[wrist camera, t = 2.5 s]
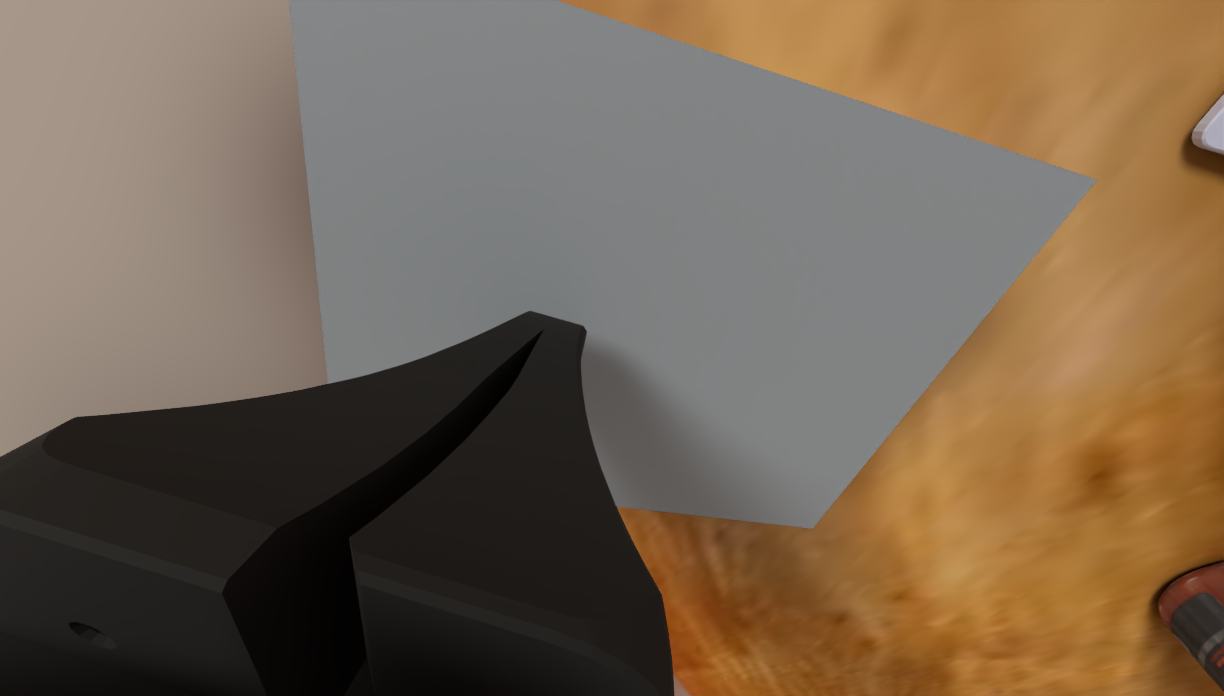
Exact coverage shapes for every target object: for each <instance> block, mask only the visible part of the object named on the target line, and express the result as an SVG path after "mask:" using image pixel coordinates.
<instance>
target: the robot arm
mask: <svg viewBox="0 0 1224 696" xmlns="http://www.w3.org/2000/svg"><path fill="white" fill-rule="evenodd" d="M1191 139H1192V142H1193V144H1194V145H1196V146H1197V147H1199V148H1203V149H1206V150H1209V151H1212V152H1215V153H1219V154H1222V155H1224V94H1223V95H1222V97H1221V98H1220V99H1219V100H1218V101H1217V102H1216V103H1215V105H1214V106H1213V107H1212V108H1211V109H1210V110H1209V111H1208V113H1207V114H1206V115H1205V116H1204V117H1203V118H1202V119H1201V121H1200V122H1199V123H1198V124H1197V126H1196V127H1195V129H1194V130H1193V133H1192V138H1191ZM586 335H587V331H586V329H585V327H584V326H583V325H579V324H576V323H572V322H569V321H565V320H562V319H558V318H555V317H551V316H547V315H544V314H540V313H537V312H533V311H528V312H525V313H523V314H521V315H519V316H517V317H515V318H513V319H511V320H509V321H507V322H505V323H502V324H500V325H498V326H496V327H494V328H492V329H490V330H488V331H485V332H483V333H481V334H479V335H477V336H475V337H472V338H470V339H468V340H466V341H463V342H461V343H458V344H456V345H453V346H451V347H448V348H446V349H443V350H441V351H438V352H436V353H433V354H431V355H428V356H426V357H423V358H420V359H417V360H414V361H411V362H408V363H405V364H402V365H399V366H396V367H392V368H389V369H386V370H382V371H379V372H375V373H372V374H368V375H365V376H361V377H357V378H352V379H348V380H343V381H339V382H334V383H330V384H325V385H321V386H316V387H312V388H307V389H303V390H298V391H293V392H287V393H281V394H275V395H270V396H264V397H258V398H251V399H244V400H237V401H231V402H223V403H216V404H208V405H200V406H192V407H182V408H172V409H162V410H152V411H141V412H130V413H120V414H110V415H98V416H85V417H76V418H73V419H71V420H69V421H67V422H65V423H63V424H61V425H60V426H58V427H56V428H54V429H52V430H50V431H48V432H46V433H44V434H43V435H41V436H39V437H37V438H35V439H33V440H31V441H30V442H28V443H26V444H24V445H22V446H20V447H18V448H16V449H15V450H12V451H11V452H9V453H7V454H5V455H3V456H1V457H0V696H674V680H673V667H672V656H671V648H670V641H669V633H668V627H667V622H666V616H665V610H664V604H663V599H662V594H661V592H660V591H659V589H658V587H657V585H656V583H655V582H654V580H653V578H652V576H651V575H650V573H649V571H648V569H647V568H646V566H645V564H644V562H643V560H642V558H641V556H640V554H639V553H638V551H637V549H636V547H635V545H634V543H633V541H632V539H631V537H630V535H629V533H628V531H627V529H626V526H625V524H624V522H623V520H622V518H621V516H620V514H619V512H618V509H617V507H616V505H615V502H614V499H613V497H612V494H611V492H610V489H609V487H608V484H607V482H606V479H605V477H604V474H603V472H602V469H601V466H600V463H599V460H598V457H597V454H596V450H595V447H594V444H593V440H592V436H591V432H590V428H589V424H588V419H587V414H586V409H585V403H584V396H583V388H582V374H581V357H582V353H583V348H584V344H585V339H586Z"/></svg>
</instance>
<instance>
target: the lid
mask: <svg viewBox="0 0 1224 696" xmlns="http://www.w3.org/2000/svg"><path fill="white" fill-rule="evenodd" d="M289 6H290V16H291V26H292V36H293V45H294V55H295V65H296V75H297V84H298V94H299V104H300V113H301V123H302V133H303V143H304V153H305V162H306V172H307V182H308V191H309V201H310V211H311V221H312V230H313V239H314V250H315V260H316V269H317V279H318V289H319V298H320V309H321V318H322V328H323V338H324V348H325V356H326V367H327V377H328V384H330V383H334V382H339V381H343V380H348V379H352V378H357V377H361V376H365V375H368V374H372V373H375V372H379V371H382V370H386V369H389V368H392V367H396V366H399V365H402V364H405V363H408V362H411V361H414V360H417V359H420V358H423V357H426V356H428V355H431V354H433V353H436V352H438V351H441V350H443V349H446V348H448V347H451V346H453V345H456V344H458V343H461V342H463V341H466V340H468V339H470V338H472V337H475V336H477V335H479V334H481V333H483V332H485V331H488V330H490V329H492V328H494V327H496V326H498V325H500V324H502V323H505V322H507V321H509V320H511V319H513V318H515V317H517V316H519V315H521V314H523V313H525V312H528V311H533V312H537V313H540V314H544V315H547V316H551V317H555V318H558V319H562V320H565V321H569V322H572V323H576V324H579V325H583V326H584V327H585V329H586V331H587V335H586V339H585V344H584V348H583V353H582V357H581V374H582V388H583V396H584V403H585V409H586V414H587V419H588V424H589V428H590V432H591V436H592V440H593V444H594V447H595V450H596V454H597V457H598V460H599V463H600V466H601V469H602V472H603V474H604V477H605V479H606V482H607V484H608V487H609V489H610V492H611V494H612V497H613V499H614V502H615V505H616V507H625V508H634V509H642V510H651V511H660V512H669V513H678V514H687V515H695V516H704V517H713V518H722V519H731V520H740V521H749V522H757V523H766V524H775V525H784V526H793V527H802V528H810V529H813V528H814V526H815V525H816V524H817V523H818V521H819V520H820V519H821V518H822V517H823V515H824V514H825V513H826V512H827V510H828V509H829V508H830V507H831V506H832V504H833V503H834V502H835V501H836V499H837V498H838V497H839V496H840V495H841V493H842V492H843V491H844V490H845V488H846V487H847V486H848V485H849V483H850V482H851V481H852V480H853V479H854V477H855V476H856V475H857V474H858V472H859V471H860V470H861V469H862V468H863V466H864V465H865V464H866V463H867V461H868V460H869V459H870V458H871V457H872V455H873V454H874V453H875V452H876V450H877V449H878V448H879V447H880V445H881V444H882V443H883V442H884V441H885V439H886V438H887V437H888V436H889V434H890V433H891V432H892V431H893V430H894V428H895V427H896V426H897V425H898V423H899V422H900V421H901V420H902V419H903V417H904V416H905V415H906V414H907V412H908V411H909V410H910V409H911V407H912V406H913V405H914V404H915V403H916V401H917V400H918V399H919V398H920V396H921V395H922V394H923V393H924V392H925V390H926V389H927V388H928V387H929V385H930V384H931V383H932V382H933V381H934V379H935V378H936V377H937V376H938V374H939V373H940V372H941V371H942V369H943V368H944V367H945V366H946V365H947V363H948V362H949V361H950V360H951V358H952V357H953V356H954V355H955V354H956V352H957V351H958V350H959V349H960V347H961V346H962V345H963V344H964V343H965V341H966V340H967V339H968V338H969V336H970V335H971V334H972V333H973V331H974V330H975V329H976V328H977V327H978V325H979V324H980V323H981V322H982V320H983V319H984V318H985V317H986V316H987V314H988V313H989V312H990V311H991V309H992V308H993V307H994V306H995V305H996V303H997V302H998V301H999V300H1000V298H1001V297H1002V296H1003V295H1004V293H1005V292H1006V291H1007V290H1008V289H1009V287H1010V286H1011V285H1012V284H1013V282H1014V281H1015V280H1016V279H1017V278H1018V276H1019V275H1020V274H1021V273H1022V271H1023V270H1024V269H1025V268H1026V267H1027V265H1028V264H1029V263H1030V262H1031V260H1032V259H1033V258H1034V257H1035V256H1036V254H1037V253H1038V252H1039V251H1040V249H1041V248H1042V247H1043V246H1044V244H1045V243H1046V242H1047V241H1048V240H1049V238H1050V237H1051V236H1052V235H1053V233H1054V232H1055V231H1056V230H1057V229H1058V227H1059V226H1060V225H1061V224H1062V222H1063V221H1064V220H1065V219H1066V218H1067V216H1068V215H1069V214H1070V213H1071V211H1072V210H1073V209H1074V208H1075V206H1076V205H1077V204H1078V203H1079V202H1080V200H1081V199H1082V198H1083V197H1084V195H1085V194H1086V193H1087V192H1088V191H1089V189H1090V188H1091V187H1092V186H1093V184H1094V183H1095V182H1096V181H1097V180H1096V179H1093V178H1090V177H1087V176H1084V175H1081V174H1078V173H1075V172H1072V171H1069V170H1066V169H1063V168H1060V167H1057V166H1054V165H1051V164H1048V163H1045V162H1042V161H1039V160H1036V159H1033V158H1030V157H1027V156H1024V155H1021V154H1018V153H1015V152H1012V151H1009V150H1006V149H1003V148H999V147H996V146H993V145H990V144H987V143H984V142H981V141H978V140H975V139H972V138H969V137H966V136H963V135H960V134H957V133H954V132H951V131H948V130H945V129H942V128H939V127H936V126H933V125H930V124H927V123H924V122H921V121H918V120H915V119H912V118H909V117H906V116H903V115H900V114H897V113H894V112H891V111H888V110H885V109H882V108H879V107H876V106H873V105H870V104H867V103H864V102H861V101H858V100H855V99H852V98H849V97H846V96H843V95H840V94H837V93H834V92H831V91H828V90H825V89H822V88H819V87H816V86H813V85H810V84H807V83H804V82H801V81H798V80H795V79H792V78H789V77H786V76H783V75H780V74H777V73H774V72H771V71H768V70H765V69H762V68H759V67H756V66H753V65H750V64H747V63H744V62H741V61H738V60H734V59H731V58H728V57H725V56H722V55H719V54H716V53H713V52H710V51H707V50H704V49H701V48H698V47H695V46H692V45H689V44H686V43H683V42H680V41H677V40H674V39H671V38H668V37H665V36H662V35H659V34H656V33H653V32H650V31H647V30H644V29H641V28H638V27H635V26H632V25H629V24H626V23H623V22H620V21H617V20H614V19H611V18H608V17H605V16H602V15H599V14H596V13H593V12H590V11H587V10H584V9H581V8H578V7H575V6H572V5H569V4H566V3H563V2H560V1H557V0H289Z"/></svg>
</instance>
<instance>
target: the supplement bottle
mask: <svg viewBox="0 0 1224 696" xmlns="http://www.w3.org/2000/svg"><path fill="white" fill-rule="evenodd" d="M1158 612H1159V615H1160V617H1161V619H1162V620H1163V622H1164V623H1165V625H1166V626H1167V627H1168V628H1169V629H1170V630H1171V631H1172V633H1173V634H1174V636H1175V637H1176V638H1177V639H1178V640H1179V641H1180V643H1181V644H1182V645H1183V646H1184V647H1185V648H1186V649H1187V650H1188V652H1189V653H1190V654H1191V655H1192V656H1193V657H1194V658H1195V659H1196V661H1197V662H1198V663H1199V664H1200V665H1201V666H1202V667H1203V669H1204V670H1205V671H1206V672H1207V673H1208V674H1209V675H1210V677H1211V678H1212V679H1213V680H1214V681H1215V682H1216V683H1217V684H1218V685H1219V687H1220V688H1221V689H1222V690H1223V691H1224V562H1220V563H1216V564H1214V565H1210V566H1206V567H1203V568H1200V569H1198V570H1195V571H1192V572H1190V573H1187V574H1185V575H1183V576H1181V577H1179V578H1177V579H1176V580H1175V581H1174V582H1172V583H1171V585H1170V586H1168V587H1167V589H1165V591H1164V592H1163V593H1162V595H1161V596H1160V598H1159V601H1158Z"/></svg>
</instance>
